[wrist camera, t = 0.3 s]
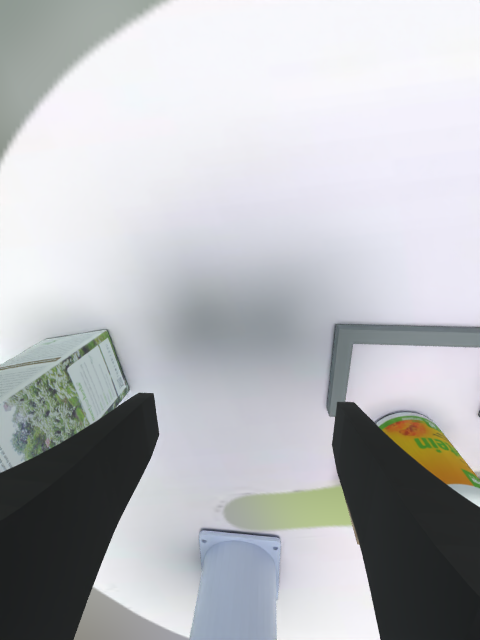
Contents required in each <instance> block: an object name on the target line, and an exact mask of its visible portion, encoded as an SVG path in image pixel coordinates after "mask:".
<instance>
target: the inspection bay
mask: <svg viewBox="0 0 480 640" xmlns="http://www.w3.org/2000/svg"><path fill="white" fill-rule="evenodd" d="M353 344H380V345H414V346H448V347H480V328H479V327H436V326H393V325H350V324H336V329H335V338H334V347H333V356H332V365H331V374H330V383H329V392H328V401H327V411H328V414H329V416H330V417H335V416H336V407H337V402H345V399H346V392H347V385H348V377H349V370H350V363H351V355H352V348H353ZM478 416H479V417H480V412H479V415H478Z"/></svg>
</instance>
